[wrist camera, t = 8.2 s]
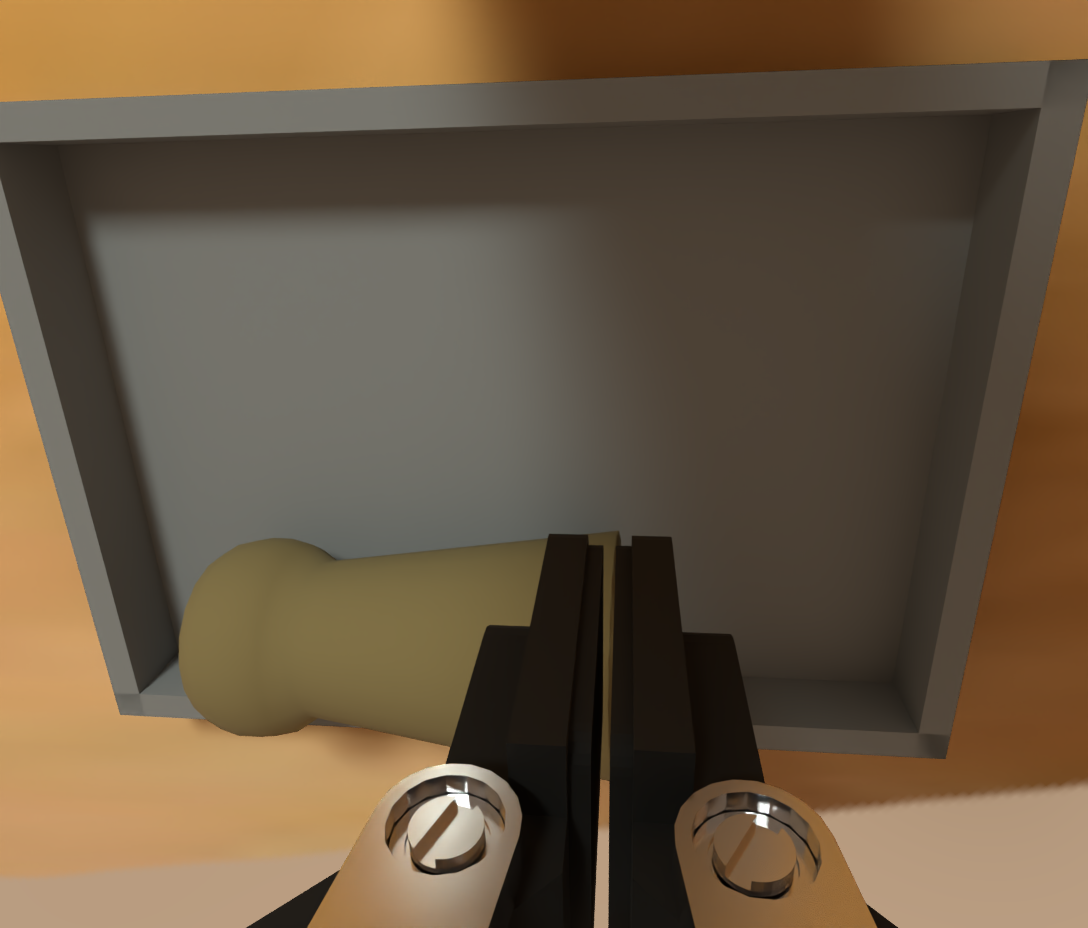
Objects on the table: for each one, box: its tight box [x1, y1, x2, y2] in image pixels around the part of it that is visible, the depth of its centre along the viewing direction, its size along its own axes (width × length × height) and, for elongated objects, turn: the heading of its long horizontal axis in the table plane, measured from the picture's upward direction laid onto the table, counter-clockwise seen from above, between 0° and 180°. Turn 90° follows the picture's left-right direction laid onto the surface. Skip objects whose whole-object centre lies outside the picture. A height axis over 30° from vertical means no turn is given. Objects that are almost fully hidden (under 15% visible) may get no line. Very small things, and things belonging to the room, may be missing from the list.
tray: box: [0, 59, 1088, 759], centre depth 19 cm, size 24×17×2 cm
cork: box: [179, 531, 621, 781], centre depth 20 cm, size 6×6×11 cm
